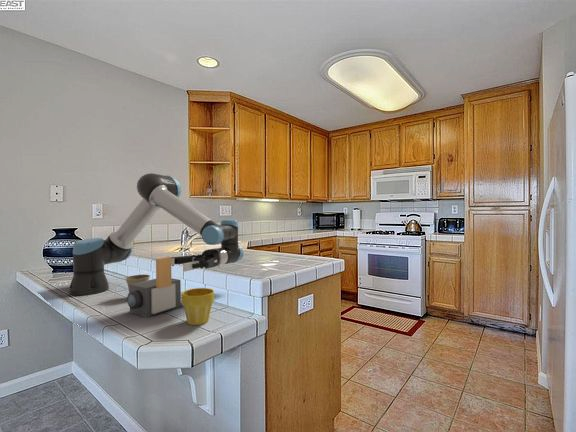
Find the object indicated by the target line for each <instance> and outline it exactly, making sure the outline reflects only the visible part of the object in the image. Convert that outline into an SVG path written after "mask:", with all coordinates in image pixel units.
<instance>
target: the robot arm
mask: <svg viewBox="0 0 576 432" xmlns="http://www.w3.org/2000/svg"><path fill="white" fill-rule="evenodd" d="M136 190H137V193H138V194H139V195H140V197H141V198H142V200H141V201H139V204H137V205H136V207H135V208H134V209H133V210H132V212H131V213H130V214H129V216H128V217H127V218H126V219H125V221H123V223H122V224H121V226H120V227H118V230H116V231H113V232H111V233H110V234H108V237H107V238H106V239H104V238H102V237H94V238H93V237H92V238H84V239H81V240H77V241H76V242H74V243H73V245H72V264H73V266H72V267H73V273H72V275H73V276H72V279H71V282H70V284H69V287H68V294H69V295H72V296H85V295H93V294H94V295H95V294H100V293H103V292H106V291H108V290H109V289H110V283H109V282H108V278H107V276H106V273H105V265H109V264H115V263H121V262H124V261H125V260H127V259H129V258H130V256H131V255H132V253H133V248H134V247H133V246H134V240H136V238H137V237H138V235H140V233H141V232H142V230H143V229H144V228H145V227H146V226H147V225H148V223H149V222H150V221H151V220H152V219H153V217H154V216H155V215H156V214H157V212H158V211H159V210H160V209H162V210H163V211H165V212H167V214H170V216H173V218H175V219H176V220H178V221H180V222H181V223H182V224H184V225H186V226H187V227H188V228H189V229H191V230H193V231H194V232H195V233H197V234H199V236H201V239H202V240H203V243H205V244H206V245H210V246H212V245H213V246H215V245H221V246H220V247H215V248H208V249H205V250H204V251H203V252H202V253H201V254H193V255H182V256H181V255H180V256H170V257H171V267H174V266H175V265H182V271H183V272H184V273H185V272H189V271H194V270H197V269H212V268H215V267H218V268H221V266H224V265H228V264H235V263H237V262H239V261H241V260H242V259H243V257H244V250H243V247H242V246H241V245H239V222H238V220H237V219H222V220H221V222H220V224H218V223H217V222H215V221H214V220H212V219H210V218H209V217H208V216H207V215H204V214H203V213H202V212H201V211H199V210H197V209H196V208H194V207H193V206H191V204H189V203H187V202H186V201H184V200H182V199H181V198H180V196H181V192H182V188H181V184H180V182H179V180H178V179H177V178H175V177H173V176H170V175H163V174H158V173H153V172H151V173H145V174H144V175H142V176H140V177H139V179H138V181H137V182H136Z"/></svg>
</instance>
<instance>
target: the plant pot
mask: <svg viewBox="0 0 576 432" xmlns="http://www.w3.org/2000/svg"><path fill="white" fill-rule="evenodd" d="M214 301H215V290H214V289H213V288H208V287H195V288H189V289H185V290H184V291H182V292H181V305H183V309H184V313H185V318H186V321H187V324H188V325H191V326H200V325H205V324H207V323H208V322H209V319H210V314H211V311H212V305H213V303H214Z"/></svg>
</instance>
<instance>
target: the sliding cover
mask: <svg viewBox="0 0 576 432" xmlns="http://www.w3.org/2000/svg"><path fill="white" fill-rule="evenodd" d="M171 257H172V256H165V257H159V258H155V279H156V288H153V289H151V305H152V314H155V313H158V312H161V311H164V310H167V309H170V308H173V307H176V294H175V284H172V280H171V278H172V266H171Z"/></svg>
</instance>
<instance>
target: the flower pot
mask: <svg viewBox="0 0 576 432" xmlns="http://www.w3.org/2000/svg"><path fill="white" fill-rule="evenodd" d="M150 277H151V275H150V274H135V275H134V274H133V275H128V276H126V277H125V279H124V280H126V283H127V289H128V290H129V284H134V283H138V282H143V281H147V280H150Z"/></svg>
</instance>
